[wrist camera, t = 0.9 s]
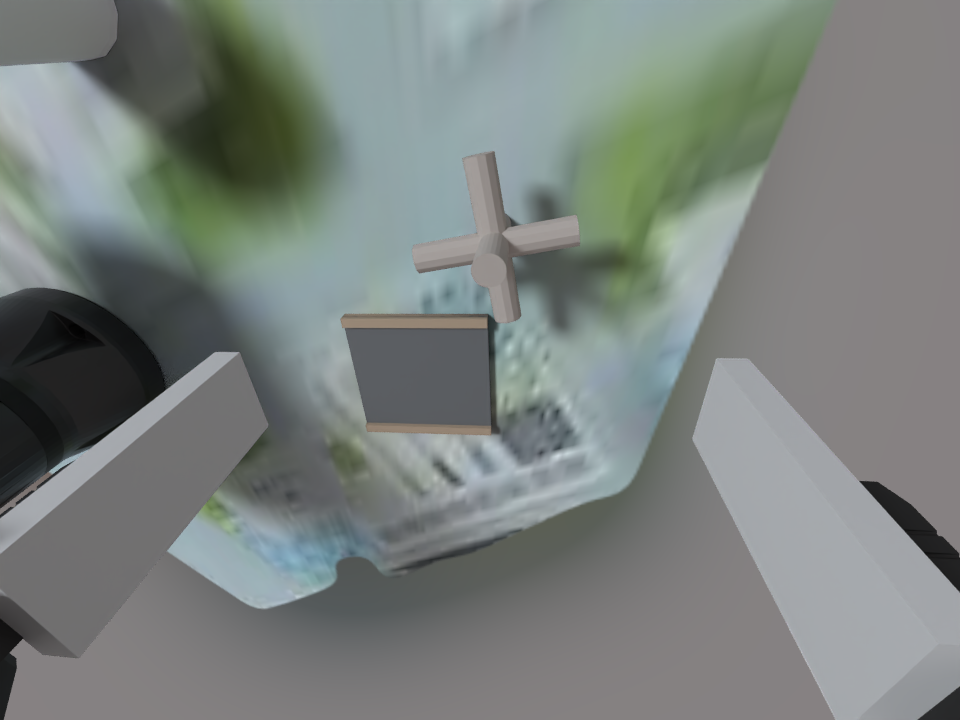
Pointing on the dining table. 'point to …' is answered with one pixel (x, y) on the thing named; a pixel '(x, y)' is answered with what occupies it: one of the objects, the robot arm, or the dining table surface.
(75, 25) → the foam cup
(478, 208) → the pipe connector
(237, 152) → the dining table surface
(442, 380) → the mat
